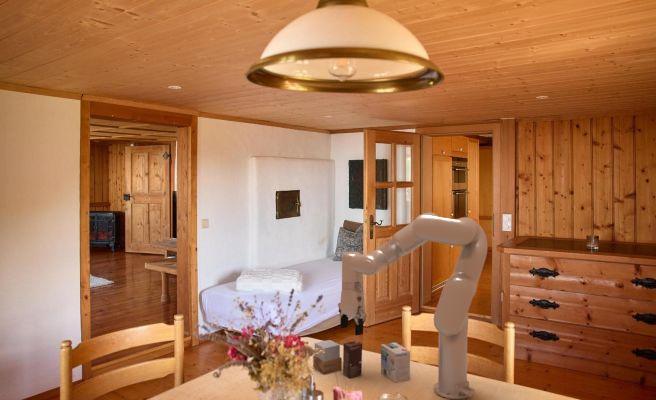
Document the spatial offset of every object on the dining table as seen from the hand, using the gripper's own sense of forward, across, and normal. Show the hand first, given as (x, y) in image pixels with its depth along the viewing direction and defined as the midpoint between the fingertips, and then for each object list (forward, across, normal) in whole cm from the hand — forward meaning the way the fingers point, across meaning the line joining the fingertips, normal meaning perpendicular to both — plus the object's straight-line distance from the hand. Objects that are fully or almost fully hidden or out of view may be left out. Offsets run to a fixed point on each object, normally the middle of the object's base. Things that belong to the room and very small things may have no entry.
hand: (351, 331), depth 181 cm
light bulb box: (+17, -10, -13) cm, 23 cm away
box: (+17, 0, 0) cm, 17 cm away
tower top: (+12, +10, +5) cm, 16 cm away
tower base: (+17, +10, +5) cm, 20 cm away
